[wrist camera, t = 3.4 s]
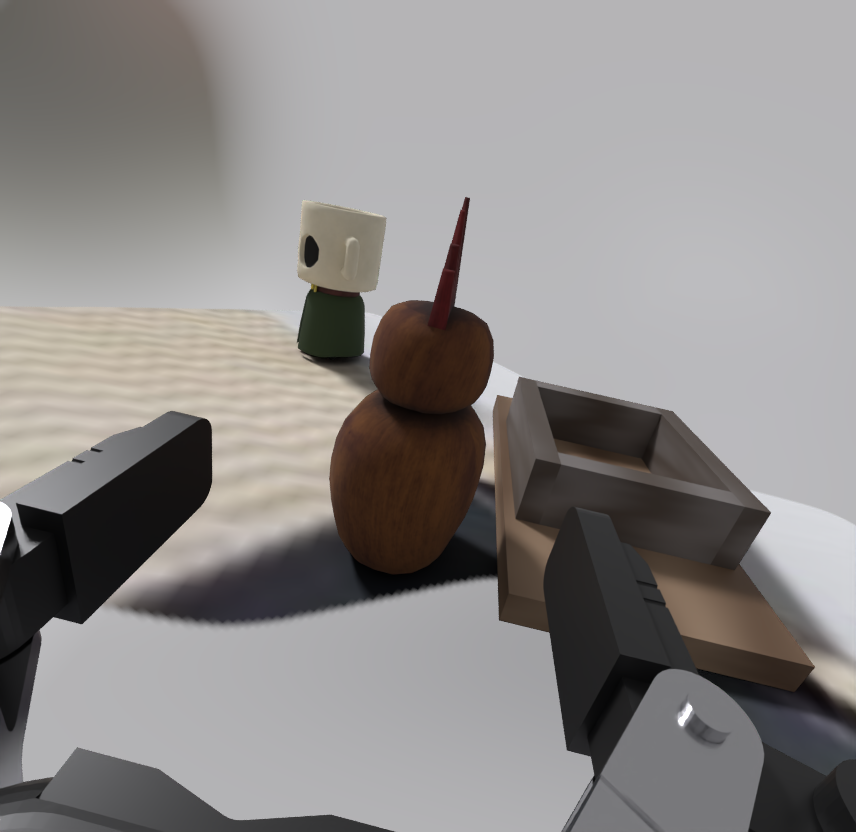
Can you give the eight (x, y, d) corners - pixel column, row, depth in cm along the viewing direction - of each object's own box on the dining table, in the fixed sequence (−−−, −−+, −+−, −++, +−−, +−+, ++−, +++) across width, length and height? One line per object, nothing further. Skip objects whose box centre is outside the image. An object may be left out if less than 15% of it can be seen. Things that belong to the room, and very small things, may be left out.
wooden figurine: (382, 487, 25) (435, 192, 19) (475, 534, 23) (570, 219, 17) (295, 554, 19) (331, 163, 13) (409, 624, 17) (516, 198, 11)
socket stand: (499, 620, 18) (534, 522, 16) (492, 410, 38) (508, 355, 36) (794, 691, 18) (869, 601, 16) (631, 442, 38) (655, 388, 36)
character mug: (287, 333, 46) (296, 196, 41) (355, 339, 49) (372, 211, 44) (296, 373, 37) (309, 204, 32) (378, 377, 40) (403, 222, 35)
